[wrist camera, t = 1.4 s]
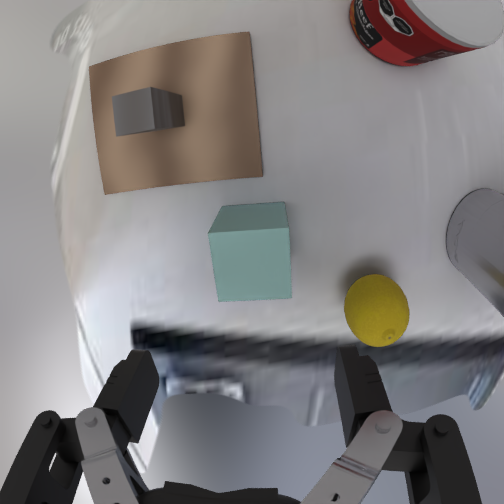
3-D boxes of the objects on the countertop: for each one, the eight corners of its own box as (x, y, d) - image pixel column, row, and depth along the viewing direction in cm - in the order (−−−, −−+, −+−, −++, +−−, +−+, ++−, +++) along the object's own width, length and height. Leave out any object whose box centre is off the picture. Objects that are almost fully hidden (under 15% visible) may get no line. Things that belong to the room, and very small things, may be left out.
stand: (249, 34, 20) (241, 0, 13) (262, 174, 25) (260, 197, 18) (93, 67, 22) (40, 58, 14) (108, 192, 26) (61, 219, 19)
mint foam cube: (284, 201, 26) (288, 227, 20) (287, 258, 28) (291, 298, 22) (222, 206, 26) (208, 233, 20) (229, 262, 28) (218, 301, 22)
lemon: (336, 263, 28) (357, 313, 21) (392, 257, 27) (427, 302, 20) (336, 313, 30) (353, 369, 23) (388, 306, 29) (415, 358, 22)
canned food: (354, -22, 17) (396, -84, 7) (435, 13, 18) (505, -20, 8) (338, 47, 20) (384, 3, 10) (423, 81, 21) (503, 70, 11)
